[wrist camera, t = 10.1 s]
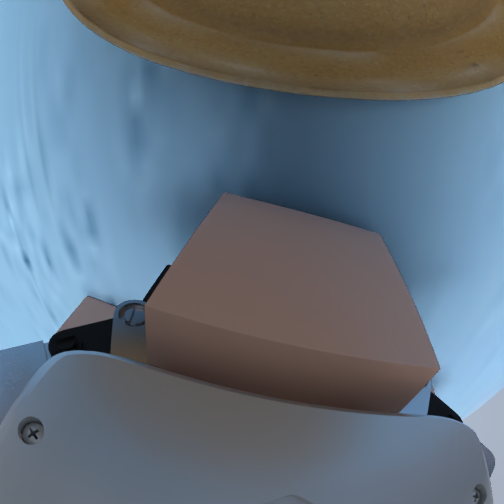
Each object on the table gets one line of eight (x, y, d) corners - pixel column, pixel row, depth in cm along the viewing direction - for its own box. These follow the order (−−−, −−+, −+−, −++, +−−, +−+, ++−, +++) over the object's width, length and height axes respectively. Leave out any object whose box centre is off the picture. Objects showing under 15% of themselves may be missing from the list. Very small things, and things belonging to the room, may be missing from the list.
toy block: (223, 192, 12) (144, 305, 5) (380, 234, 11) (440, 368, 5) (203, 314, 15) (156, 435, 9) (327, 344, 15) (330, 469, 9)
